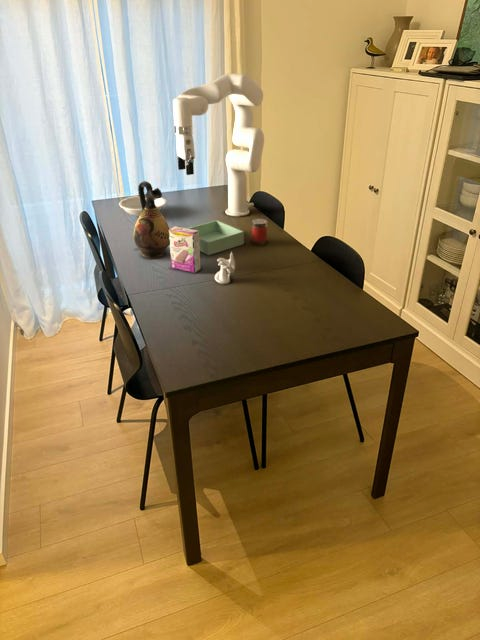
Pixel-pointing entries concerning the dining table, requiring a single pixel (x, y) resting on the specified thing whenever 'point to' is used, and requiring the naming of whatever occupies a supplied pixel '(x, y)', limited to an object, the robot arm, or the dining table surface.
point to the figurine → (225, 270)
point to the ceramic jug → (150, 224)
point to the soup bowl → (139, 205)
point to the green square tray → (218, 237)
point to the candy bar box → (184, 249)
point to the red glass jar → (259, 232)
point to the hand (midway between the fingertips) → (185, 171)
